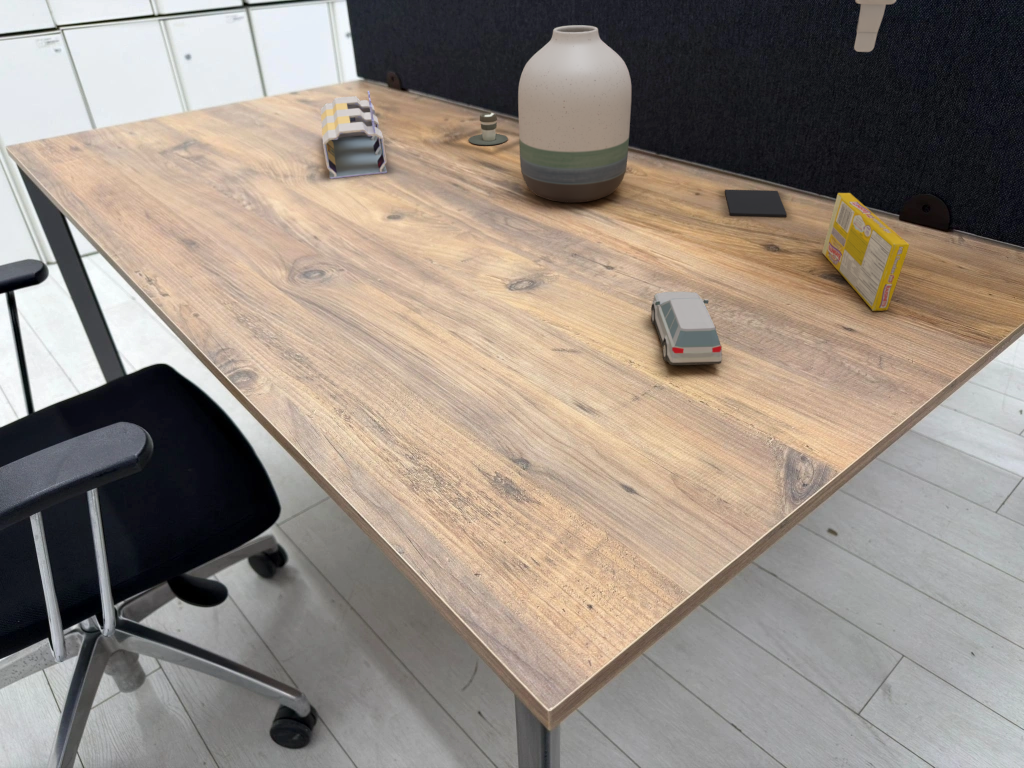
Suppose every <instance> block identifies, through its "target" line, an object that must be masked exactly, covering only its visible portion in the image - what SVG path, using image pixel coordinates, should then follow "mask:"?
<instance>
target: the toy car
mask: <svg viewBox="0 0 1024 768" xmlns="http://www.w3.org/2000/svg"><path fill="white" fill-rule="evenodd" d="M709 301H710V300H709V299H703V298H701V296H700V294H698V292H693V291H662V292H658V293H655V294H654V295H653V299H652V304H651V308H650V311H651V315H650V317H651V324H652V325H653V326H655V328H656V332H657V335H658V338H659V341H660V344H661V347H662V358H663V360H664V361H665V362H666V363H668V364H669V365H670V366H693V365H695V366H696V365H720V364H722V361H723V359H722V358H723V357H722V354H723V353H722V352H723V351H722V349H723V348H722V344H721V340H720V338H719V335H718V332H717V329H716V326H715V324H714V322H713V319H712V317H711V315H710V313H709V311H708V309H707V306H706V304H707V305H709Z"/></svg>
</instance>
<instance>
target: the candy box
mask: <svg viewBox="0 0 1024 768" xmlns="http://www.w3.org/2000/svg"><path fill="white" fill-rule="evenodd" d="M830 218H831V219H830V221H829V225H828V229H827V232H826V236H825V239H824V243H823V247H822V251H821V253H822V254H823V255H824V257H825V258H826V259H827V260H828V261H829V262H830V264H831V265H832V266H833V267H834V268H835V269H836V271H838V272H839V274H840V275H841V277H842V278H843V279H844V280H845V281H846V282H847V283H848V284H849V285H850V286H851V288H852V289H853V290H854V291H855V292H856V293H857V294H858V296H859V297H860V298H861V299H862V300H863V302H865V304H866V305H868V307H869V309H870V310H871V311H872V312H882V311H887V310H888V309H889V307H890V305H891V304H890V303H891V301H892V297H893V295H894V292H895V290H896V287H897V283H898V281H899V277H900V274H901V272H902V269H903V266H904V262H905V260H906V258H907V257H906V256H907V254H908V251H909V248H910V243H908V242H907V241H906V240H905V239H904V238H902V237H901V236H900V235H899V234H898V233H897V232H895V231H894V230H893V229H892V228H891V227H890V226H889V225H887V224H886V223H885V222H884V221H883V220H882V219H880V218H879V217H878V216H877V215H876V214H875V213H874V212H872V210H870V209H869V208H868V207H867V206H866V205H864V204H863V203H862V202H861V201H860V200H859V199H858V198H856V197H855V196H854V195H853V194H852V193H851V192H837V195H836V198H835V202H834V205H833V209H832V214H831V217H830Z"/></svg>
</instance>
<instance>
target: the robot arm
mask: <svg viewBox="0 0 1024 768" xmlns="http://www.w3.org/2000/svg"><path fill="white" fill-rule="evenodd" d="M854 2H855V3H856V4H859V5H860V7H859V8H860V9H859V16H858V20H857V24H856V36H855V41H854V46H853V49H854V51H855V52H859V53H870V52H872V51H873V50H874V48H875V45H876V41H877V36H878V32H879V29H880V27H881V23H882V21H883V17H884V16H885V15H884V14H885V10H886V6H887V5H893V4H895V3H896V2H897V0H854Z"/></svg>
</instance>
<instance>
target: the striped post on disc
mask: <svg viewBox="0 0 1024 768" xmlns="http://www.w3.org/2000/svg"><path fill="white" fill-rule="evenodd" d="M479 121H480V130H481V134H476V135H473V136H471V137H469V138H468V142H469V143H471V144H472V145H477V146H497V145H502V144H505V143H506V142H508V140H509V137H508V136H506V135H505V134H501V133H496V131H497V121H498V117H497V114H496V113H494V112H485V113H481V114H480V115H479Z"/></svg>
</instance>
